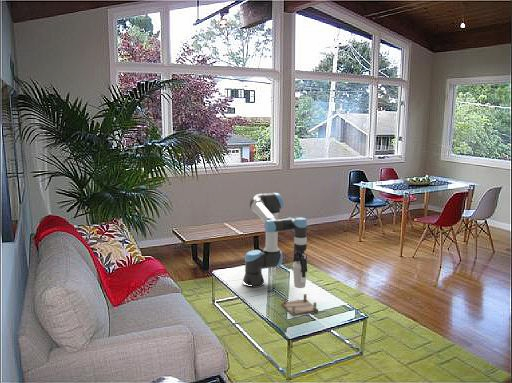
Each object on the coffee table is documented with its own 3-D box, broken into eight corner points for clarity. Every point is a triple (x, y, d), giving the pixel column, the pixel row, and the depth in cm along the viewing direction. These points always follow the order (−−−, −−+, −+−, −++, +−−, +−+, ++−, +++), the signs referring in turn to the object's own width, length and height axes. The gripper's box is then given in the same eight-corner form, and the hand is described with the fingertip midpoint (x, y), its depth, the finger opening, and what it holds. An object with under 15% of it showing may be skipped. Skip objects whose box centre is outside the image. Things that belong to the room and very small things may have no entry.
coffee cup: (290, 287, 257) (290, 264, 255) (294, 282, 266) (294, 259, 263) (305, 290, 253) (305, 265, 251) (309, 284, 262) (309, 261, 260)
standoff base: (281, 304, 267) (281, 296, 266) (306, 300, 272) (306, 293, 272) (292, 315, 251) (292, 307, 250) (318, 311, 256) (318, 303, 256)
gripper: (287, 239, 264) (287, 274, 268) (301, 248, 245) (301, 286, 248) (298, 238, 267) (298, 273, 270) (313, 247, 247) (313, 284, 250)
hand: (299, 279), depth 259 cm, fingers closed on coffee cup, 8 cm apart
